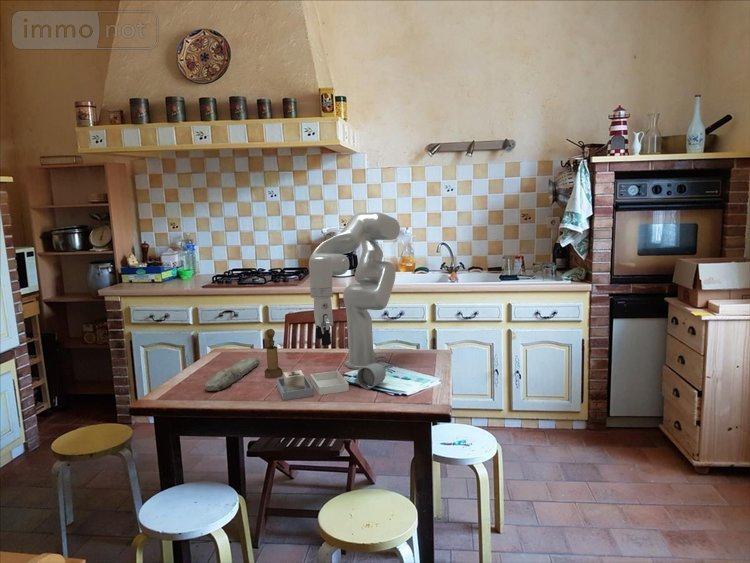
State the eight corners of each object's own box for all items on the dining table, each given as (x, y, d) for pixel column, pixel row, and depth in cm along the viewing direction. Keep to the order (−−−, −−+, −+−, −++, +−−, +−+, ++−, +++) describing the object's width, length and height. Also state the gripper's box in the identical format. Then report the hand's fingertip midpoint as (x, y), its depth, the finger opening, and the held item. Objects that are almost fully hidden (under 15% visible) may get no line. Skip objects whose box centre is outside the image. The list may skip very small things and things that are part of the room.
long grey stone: (266, 366, 225) (243, 367, 227) (265, 353, 225) (242, 354, 227) (224, 392, 191) (198, 393, 193) (222, 377, 191) (196, 378, 193)
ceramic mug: (388, 383, 195) (386, 361, 194) (375, 390, 188) (374, 368, 187) (362, 379, 200) (361, 358, 199) (349, 386, 193) (348, 365, 192)
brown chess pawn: (278, 379, 203) (275, 331, 201) (261, 379, 205) (258, 331, 202) (285, 373, 210) (281, 327, 207) (268, 373, 211) (265, 327, 208)
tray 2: (338, 378, 202) (337, 370, 201) (348, 391, 188) (348, 383, 187) (310, 382, 199) (310, 374, 198) (319, 396, 185) (319, 387, 184)
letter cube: (301, 386, 193) (300, 369, 192) (305, 392, 188) (304, 374, 187) (284, 389, 192) (283, 372, 191) (287, 395, 186) (286, 377, 185)
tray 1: (305, 383, 198) (304, 375, 198) (313, 397, 184) (313, 388, 184) (277, 387, 195) (276, 378, 195) (283, 401, 181) (282, 392, 181)
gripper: (338, 295, 182) (339, 346, 184) (327, 288, 198) (329, 335, 201) (315, 296, 180) (317, 348, 182) (306, 289, 196) (308, 337, 198)
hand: (323, 341), depth 191 cm, fingers open, 9 cm apart
